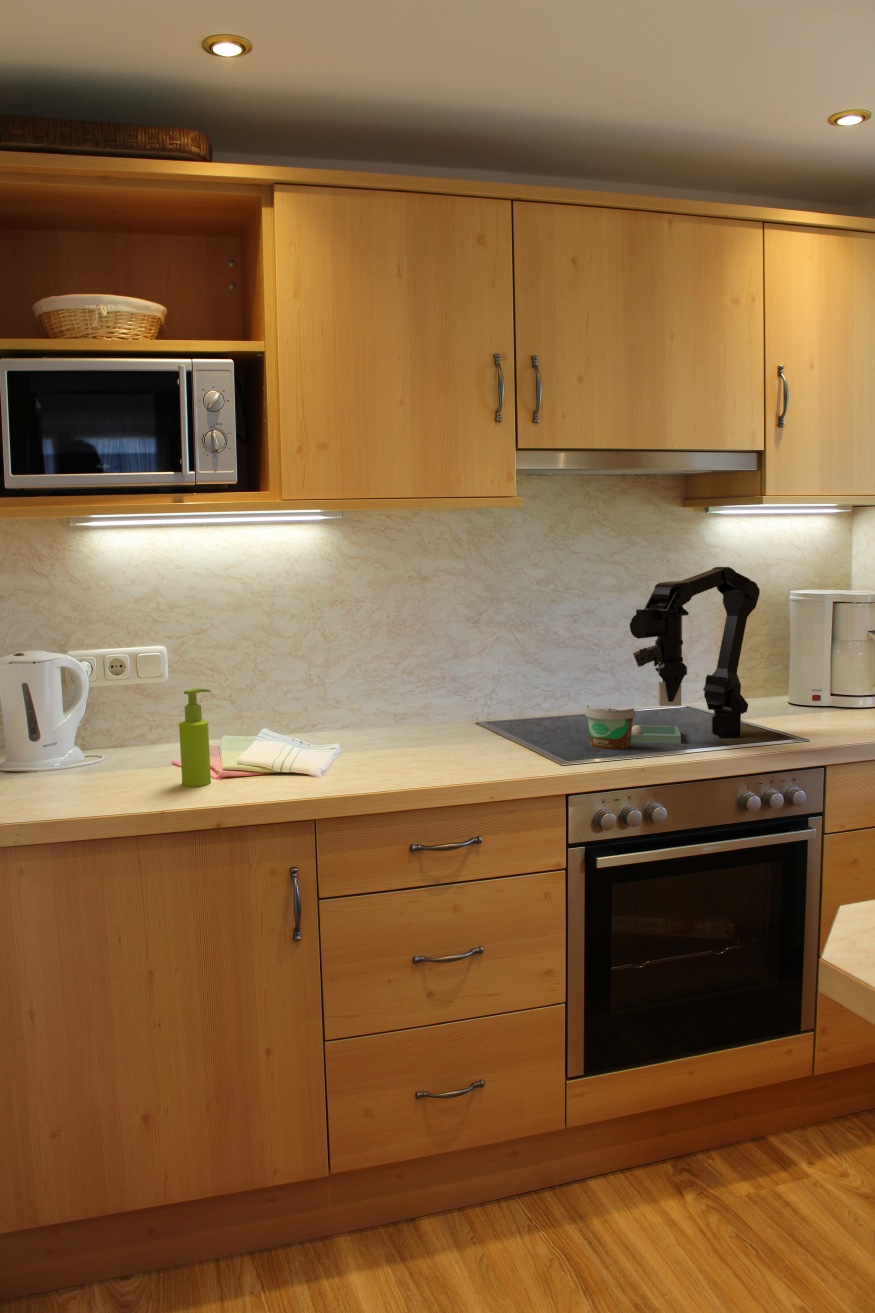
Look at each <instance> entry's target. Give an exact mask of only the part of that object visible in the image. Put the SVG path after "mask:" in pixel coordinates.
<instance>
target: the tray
mask: <svg viewBox="0 0 875 1313" xmlns="http://www.w3.org/2000/svg"><path fill="white" fill-rule="evenodd" d="M633 726H634V725H632V727H633ZM640 726H641V727H642V729H643V735H634V734H632V732H631V740H630V744H667V745H668V744H671V745H673V744H674V745H675V744H676V745H677V744H679V745H681V744H682V735H681V732H680V730H679V727H678V725H640Z"/></svg>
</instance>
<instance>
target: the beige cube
mask: <svg viewBox="0 0 875 1313" xmlns="http://www.w3.org/2000/svg"><path fill="white" fill-rule="evenodd" d="M657 703H658V705H659V707H682V683H681V684H680V687H679V689H678V691H677V694H676V696H675V698H674V701H673V702H669V701H668V697H667V692H666V686H665V682H663V681H658V682H657Z"/></svg>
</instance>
